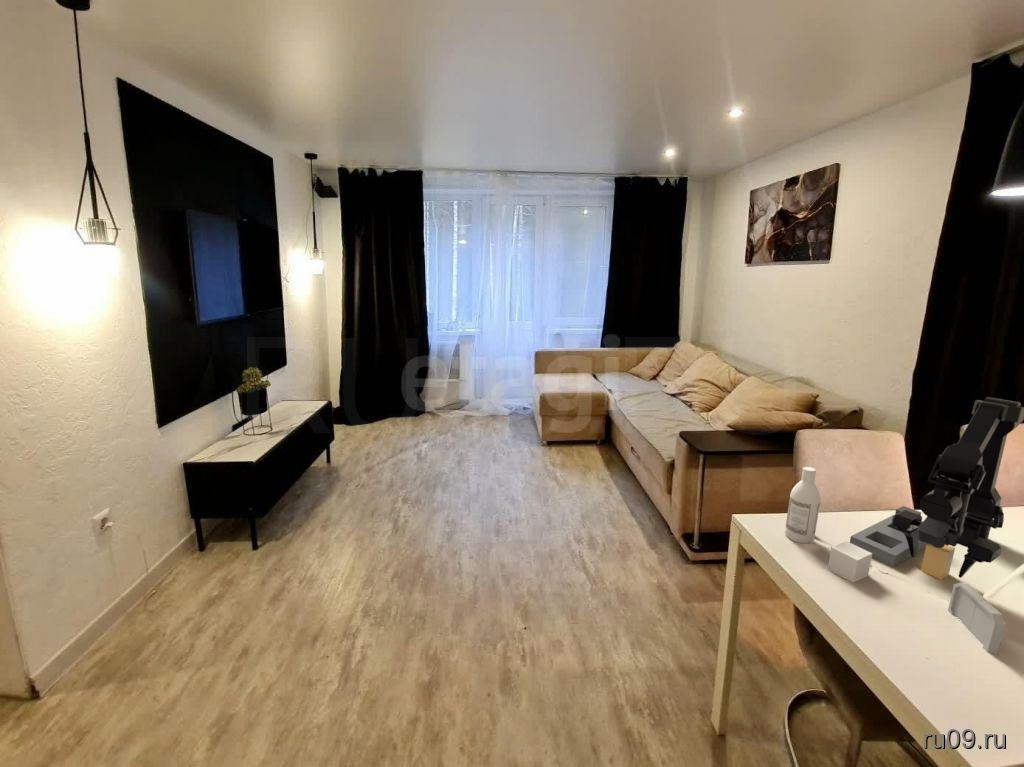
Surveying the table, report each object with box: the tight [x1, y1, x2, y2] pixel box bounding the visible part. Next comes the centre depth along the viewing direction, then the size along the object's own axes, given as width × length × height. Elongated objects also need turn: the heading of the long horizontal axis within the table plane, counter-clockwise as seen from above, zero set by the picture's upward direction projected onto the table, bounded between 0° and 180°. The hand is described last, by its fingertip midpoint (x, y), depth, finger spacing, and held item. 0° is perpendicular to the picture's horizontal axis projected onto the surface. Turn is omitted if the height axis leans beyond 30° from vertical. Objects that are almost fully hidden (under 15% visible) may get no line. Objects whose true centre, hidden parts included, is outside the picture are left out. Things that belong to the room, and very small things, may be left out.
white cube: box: [827, 540, 873, 583], centre depth 119 cm, size 6×6×6 cm
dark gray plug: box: [892, 505, 922, 532], centre depth 131 cm, size 4×4×8 cm
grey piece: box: [849, 514, 928, 567], centre depth 129 cm, size 22×10×4 cm, turn 119°
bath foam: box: [784, 466, 821, 544], centre depth 132 cm, size 7×7×20 cm
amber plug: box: [920, 544, 956, 580], centre depth 117 cm, size 4×4×8 cm
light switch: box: [947, 582, 1006, 655], centre depth 99 cm, size 2×12×8 cm, turn 168°
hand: (936, 566), depth 117 cm, fingers open, 9 cm apart
